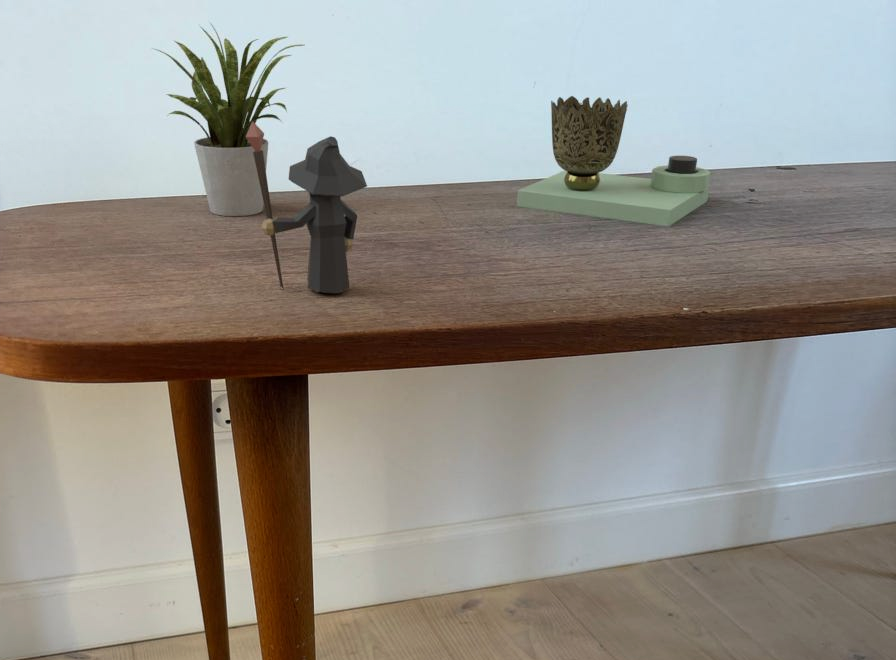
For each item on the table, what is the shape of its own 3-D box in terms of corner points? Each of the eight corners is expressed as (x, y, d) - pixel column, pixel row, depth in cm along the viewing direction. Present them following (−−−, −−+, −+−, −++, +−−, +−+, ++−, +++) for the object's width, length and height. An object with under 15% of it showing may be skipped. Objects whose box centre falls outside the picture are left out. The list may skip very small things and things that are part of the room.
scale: (711, 201, 110) (716, 168, 109) (671, 227, 101) (677, 192, 99) (566, 184, 117) (569, 152, 115) (516, 207, 107) (518, 173, 105)
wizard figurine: (349, 276, 86) (345, 113, 79) (378, 294, 81) (377, 124, 75) (252, 288, 82) (239, 119, 76) (277, 308, 78) (266, 131, 72)
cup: (601, 199, 103) (611, 108, 99) (533, 190, 106) (539, 102, 102) (628, 185, 109) (638, 99, 104) (561, 177, 112) (569, 93, 107)
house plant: (336, 198, 109) (331, 16, 100) (301, 229, 98) (292, 27, 89) (205, 191, 111) (188, 12, 102) (156, 221, 100) (132, 23, 91)
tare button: (698, 173, 108) (700, 157, 107) (690, 178, 106) (692, 161, 105) (671, 170, 109) (674, 154, 109) (663, 175, 107) (665, 158, 107)
